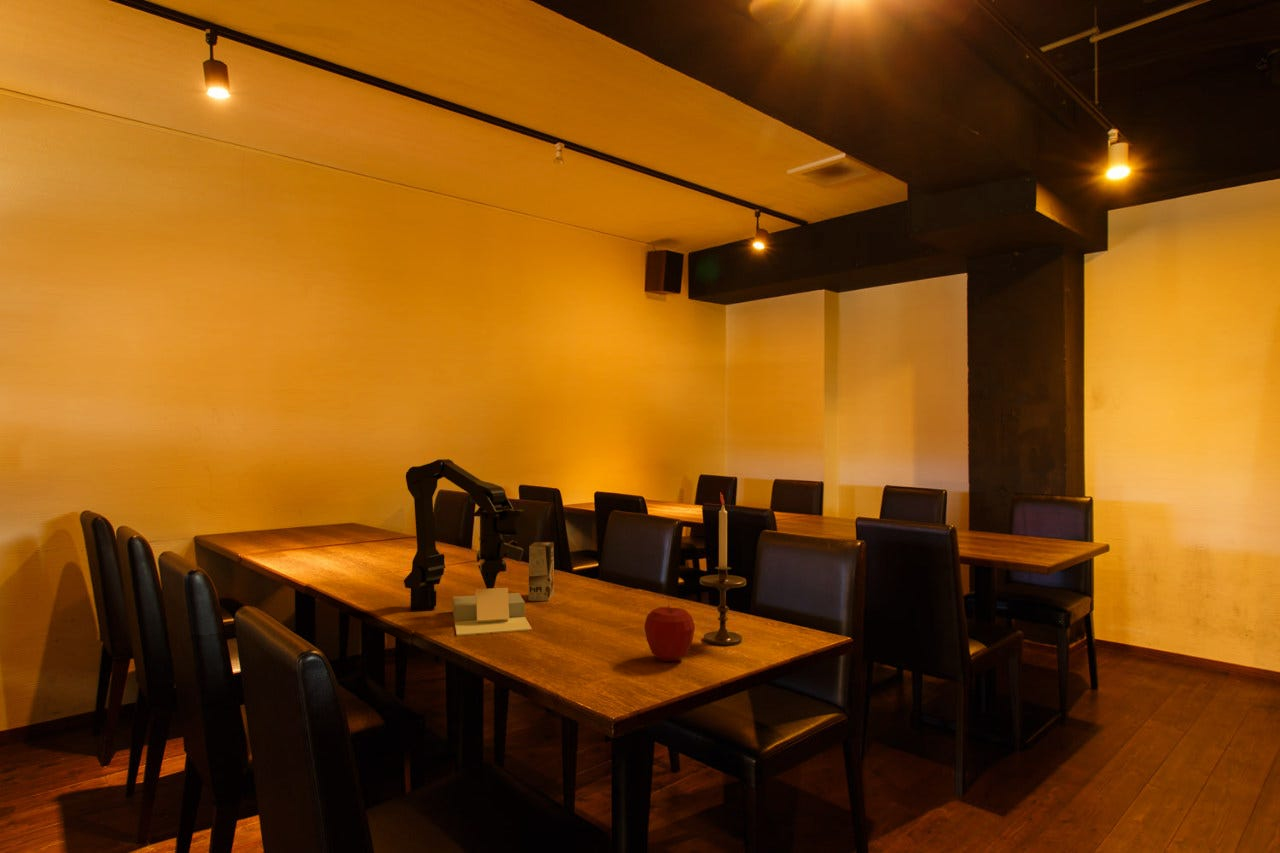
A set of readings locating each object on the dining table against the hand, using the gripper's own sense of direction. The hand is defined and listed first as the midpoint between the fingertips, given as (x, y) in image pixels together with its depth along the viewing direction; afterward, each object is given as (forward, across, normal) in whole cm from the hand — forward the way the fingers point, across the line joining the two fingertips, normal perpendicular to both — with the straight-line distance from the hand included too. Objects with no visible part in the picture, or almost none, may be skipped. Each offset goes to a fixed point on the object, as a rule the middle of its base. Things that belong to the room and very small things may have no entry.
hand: (490, 593), depth 182 cm
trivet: (+3, -3, 0) cm, 4 cm away
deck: (+7, +5, 0) cm, 8 cm away
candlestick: (+7, -35, -51) cm, 62 cm away
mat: (+7, -8, 0) cm, 11 cm away
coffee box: (+7, +21, -17) cm, 28 cm away
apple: (+7, -45, -34) cm, 57 cm away
